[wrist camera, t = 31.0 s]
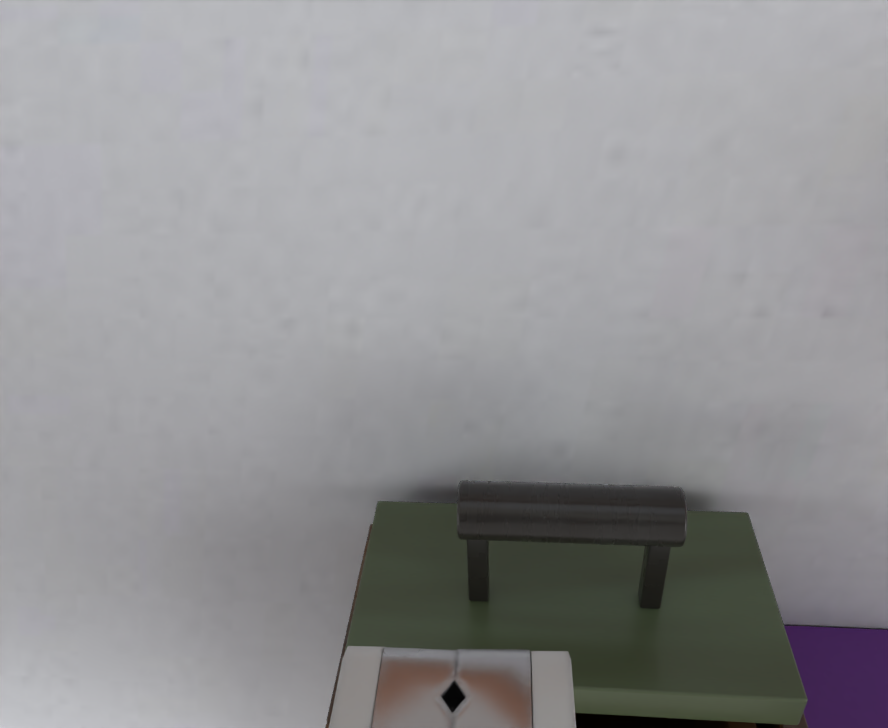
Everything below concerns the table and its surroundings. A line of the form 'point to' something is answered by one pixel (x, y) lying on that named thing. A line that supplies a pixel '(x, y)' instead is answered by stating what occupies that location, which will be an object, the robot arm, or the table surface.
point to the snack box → (842, 675)
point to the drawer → (590, 598)
